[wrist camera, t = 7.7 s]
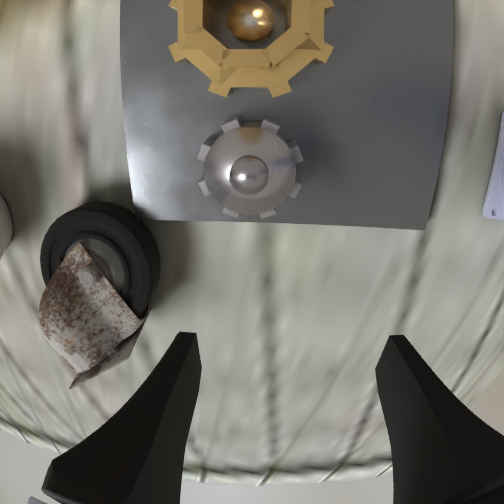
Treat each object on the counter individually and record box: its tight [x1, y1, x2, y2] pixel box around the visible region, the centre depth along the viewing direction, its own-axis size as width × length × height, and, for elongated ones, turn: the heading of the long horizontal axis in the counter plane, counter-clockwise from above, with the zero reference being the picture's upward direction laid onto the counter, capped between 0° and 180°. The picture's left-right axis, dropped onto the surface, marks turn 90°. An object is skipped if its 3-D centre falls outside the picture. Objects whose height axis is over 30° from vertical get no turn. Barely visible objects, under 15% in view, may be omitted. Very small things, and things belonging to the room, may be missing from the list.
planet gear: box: [168, 0, 334, 98], centre depth 11 cm, size 7×7×4 cm
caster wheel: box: [39, 202, 160, 389], centre depth 20 cm, size 7×11×10 cm
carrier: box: [120, 0, 454, 230], centre depth 13 cm, size 18×17×4 cm
